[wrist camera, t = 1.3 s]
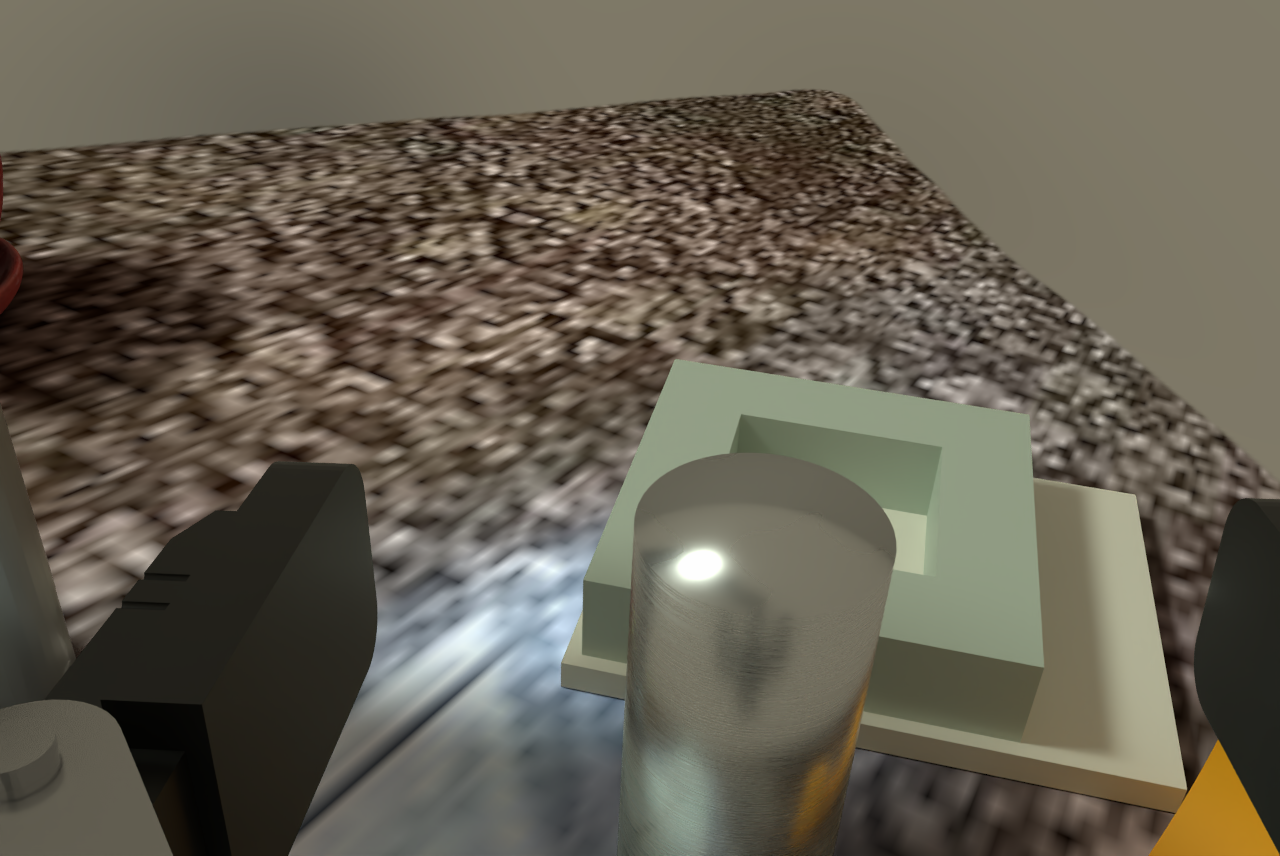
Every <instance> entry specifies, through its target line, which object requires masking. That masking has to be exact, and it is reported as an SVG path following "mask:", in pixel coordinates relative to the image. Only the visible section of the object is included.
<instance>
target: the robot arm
mask: <svg viewBox="0 0 1280 856" xmlns="http://www.w3.org/2000/svg"><path fill="white" fill-rule="evenodd" d="M376 632H377V599H376V590H375V581H374V572H373V563H372V554H371V545H370V536H369V527H368V518H367V509H366V500H365V491H364V484H363V480H362V476H361V474H360V471H359V469H358V468H357V467H356V466H355V465H353V464H336V463H308V462H280V461H278V462H274V463H273V464H272V465H271V466H270V467H269V468H268V469H267V471H266V472H265V473H264V475H263V476H262V477H261V479H260V480H259V482H258V483H257V484H256V486H255V487H254V488H253V490H252V491H251V493H250V494H249V495H248V497H247V498H246V499H245V501H244V502H243V504H242V505H241V506H240V508H239V509H238V510H237V511H214V512H213V513H211V514H210V515H208V516H206V517H205V518H203V519H202V520H200V521H199V522H197V523H195V524H194V525H192V526H191V527H189V528H188V529H186V530H184V531H183V532H181V533H180V534H178V535H176V536H175V537H173V538H172V539H171V540H170V541H169V542H168V543H167V545H166V546H165V547H164V548H163V550H162V551H161V552H160V554H159V555H158V556H157V557H156V559H155V560H154V561H153V562H152V564H151V565H150V566H149V567H148V569H147V570H146V571H145V573H144V580H138V581H137V583H136V584H135V585H134V586H133V588H132V589H131V590H130V591H129V593H128V594H127V595H126V597H125V598H124V599H123V600H122V608H116V609H115V610H114V612H113V613H112V614H111V616H110V617H109V618H108V619H107V621H106V622H105V623H104V624H103V626H102V627H101V628H100V629H99V631H98V632H97V633H96V634H95V636H94V637H93V638H92V640H91V641H90V642H89V643H88V645H87V646H86V647H85V648H84V650H83V651H82V652H81V653H80V655H79V656H78V657H77V658H76V656H75V653H74V650H73V646H72V643H71V639H70V636H69V633H68V629H67V626H66V623H65V619H64V616H63V612H62V609H61V606H60V602H59V599H58V596H57V592H56V588H55V583H54V580H53V577H52V573H51V570H50V567H49V564H48V560H47V557H46V554H45V550H44V547H43V544H42V540H41V537H40V534H39V530H38V527H37V524H36V520H35V517H34V514H33V510H32V507H31V504H30V500H29V497H28V494H27V490H26V487H25V484H24V480H23V477H22V474H21V470H20V467H19V464H18V460H17V457H16V454H15V450H14V447H13V444H12V440H11V437H10V434H9V430H8V427H7V424H6V420H5V417H4V414H3V411H2V407H1V404H0V856H288V854H289V852H290V850H291V847H292V845H293V843H294V841H295V838H296V836H297V834H298V831H299V829H300V827H301V824H302V822H303V820H304V817H305V815H306V813H307V811H308V808H309V806H310V804H311V801H312V799H313V797H314V794H315V792H316V790H317V787H318V785H319V783H320V781H321V778H322V776H323V774H324V771H325V769H326V767H327V764H328V762H329V760H330V758H331V755H332V753H333V751H334V748H335V746H336V744H337V741H338V739H339V737H340V734H341V732H342V730H343V728H344V725H345V723H346V721H347V718H348V716H349V714H350V711H351V709H352V707H353V704H354V702H355V700H356V698H357V695H358V693H359V691H360V688H361V686H362V684H363V681H364V679H365V677H366V675H367V672H368V670H369V667H370V664H371V661H372V657H373V652H374V647H375V641H376ZM1194 674H1195V683H1196V689H1197V694H1198V698H1199V701H1200V704H1201V707H1202V709H1203V711H1204V713H1205V715H1206V717H1207V719H1208V721H1209V723H1210V725H1211V726H1212V728H1213V730H1214V732H1215V734H1216V736H1217V738H1218V740H1219V742H1220V743H1221V745H1222V747H1223V749H1224V751H1225V753H1226V755H1227V757H1228V759H1229V760H1230V762H1231V764H1232V766H1233V768H1234V770H1235V772H1236V774H1237V775H1238V777H1239V779H1240V781H1241V783H1242V785H1243V787H1244V789H1245V791H1246V792H1247V794H1248V796H1249V798H1250V800H1251V802H1252V804H1253V806H1254V808H1255V809H1256V811H1257V813H1258V815H1259V817H1260V819H1261V821H1262V823H1263V824H1264V826H1265V828H1266V830H1267V832H1268V834H1269V836H1270V838H1271V840H1272V841H1273V843H1274V845H1275V847H1276V849H1277V851H1278V853H1279V855H1280V499H1254V498H1245V499H1241V500H1240V501H1238V502H1237V503H1236V504H1235V505H1234V506H1233V508H1232V509H1231V511H1230V513H1229V515H1228V518H1227V521H1226V524H1225V527H1224V531H1223V535H1222V539H1221V543H1220V547H1219V551H1218V555H1217V559H1216V563H1215V567H1214V571H1213V575H1212V579H1211V583H1210V587H1209V591H1208V595H1207V599H1206V603H1205V607H1204V611H1203V615H1202V619H1201V623H1200V627H1199V631H1198V635H1197V639H1196V644H1195V652H1194Z"/></svg>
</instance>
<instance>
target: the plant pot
mask: <svg viewBox="0 0 1280 856" xmlns="http://www.w3.org/2000/svg"><path fill="white" fill-rule="evenodd" d="M2 205H3V170H2V161H1V156H0V220H1V212H2ZM22 276H23V263H22V259H21V257H20V255H19V253H18V251H17V250H16V249H15V248H14V247H13V246H12V245H11V244H10V243H9V242H7V241H6V240H4V239H2V238H0V314H1V313H2V312H3V311H4V310H5V309H6V308H7V307H8V305H9V304H10V303H11V301H12V300H13V298H14V296H15V295H16V293H17V291H18V289H19V287H20V284H21V281H22Z"/></svg>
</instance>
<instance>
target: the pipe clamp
mask: <svg viewBox="0 0 1280 856" xmlns="http://www.w3.org/2000/svg"><path fill="white" fill-rule="evenodd" d="M1148 856H1280V855H1279V853H1278V851H1277V849H1276V847H1275V845H1274V843H1273V841H1272V840H1271V838H1270V836H1269V834H1268V832H1267V830H1266V828H1265V826H1264V824H1263V823H1262V821H1261V819H1260V817H1259V815H1258V813H1257V811H1256V809H1255V808H1254V806H1253V804H1252V802H1251V800H1250V798H1249V796H1248V794H1247V792H1246V791H1245V789H1244V787H1243V785H1242V783H1241V781H1240V779H1239V777H1238V775H1237V774H1236V772H1235V770H1234V768H1233V766H1232V764H1231V762H1230V760H1229V759H1228V757H1227V755H1226V753H1225V751H1224V749H1223V747H1222V745H1221V743H1220V742H1219V740H1218V741H1217V743H1216V744H1215V746H1214V748H1213V750H1212V752H1211V754H1210V756H1209V757H1208V759H1207V761H1206V763H1205V765H1204V766H1203V768H1202V770H1201V772H1200V774H1199V775H1198V777H1197V779H1196V780H1195V782H1194V784H1193V786H1192V787H1191V789H1190V791H1189V792H1188V794H1187V796H1186V797H1185V799H1184V801H1183V802H1182V804H1181V806H1180V807H1179V809H1178V811H1177V812H1176V814H1175V815H1174V817H1173V819H1172V820H1171V822H1170V823H1169V825H1168V827H1167V828H1166V830H1165V831H1164V833H1163V834H1162V836H1161V837H1160V839H1159V840H1158V842H1157V844H1156V845H1155V847H1154V848H1153V850H1152V851H1151V853H1150V854H1149V855H1148Z"/></svg>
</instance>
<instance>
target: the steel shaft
mask: <svg viewBox="0 0 1280 856" xmlns="http://www.w3.org/2000/svg"><path fill="white" fill-rule="evenodd" d="M896 553H897V544H896V537H895V532H894V529H893V527H892V524H891V522H890V520H889V518H888V516H887V515H886V513H885V512H884V510H883V509H882V508H881V506H880V505H879V504H878V503H877V502H876V500H875V499H874V498H872V497H871V496H870V495H869V494H868V493H867V492H866V491H865V490H863V489H862V488H861V487H859V486H858V485H856V484H855V483H854V482H852V481H850V480H849V479H847V478H845V477H844V476H842V475H840V474H838V473H836V472H834V471H832V470H829V469H827V468H825V467H822V466H819V465H817V464H814V463H811V462H807V461H804V460H800V459H797V458H792V457H787V456H782V455H774V454H767V453H730V454H720V455H715V456H709V457H704V458H701V459H697V460H694V461H691V462H688V463H686V464H683V465H681V466H678V467H676V468H675V469H673V470H671V471H669V472H667V473H666V474H664V475H663V476H661V477H660V478H659V479H657V480H656V481H655V482H654V483H653V484H652V485H651V486H650V487H649V488H648V489H647V491H646V492H645V493H644V494H643V496H642V498H641V500H640V502H639V504H638V506H637V509H636V513H635V517H634V535H633V554H632V574H631V593H630V613H629V632H628V651H627V671H626V690H625V710H624V729H623V749H622V768H621V787H620V807H619V826H618V846H617V856H833V853H834V848H835V844H836V839H837V834H838V829H839V824H840V820H841V815H842V810H843V805H844V801H845V796H846V791H847V786H848V782H849V777H850V772H851V767H852V763H853V758H854V753H855V748H856V743H857V739H858V734H859V729H860V724H861V720H862V715H863V710H864V705H865V701H866V696H867V691H868V686H869V682H870V677H871V672H872V667H873V662H874V658H875V653H876V648H877V643H878V639H879V634H880V629H881V624H882V620H883V615H884V610H885V605H886V601H887V596H888V591H889V586H890V581H891V577H892V572H893V567H894V562H895V557H896Z"/></svg>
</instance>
